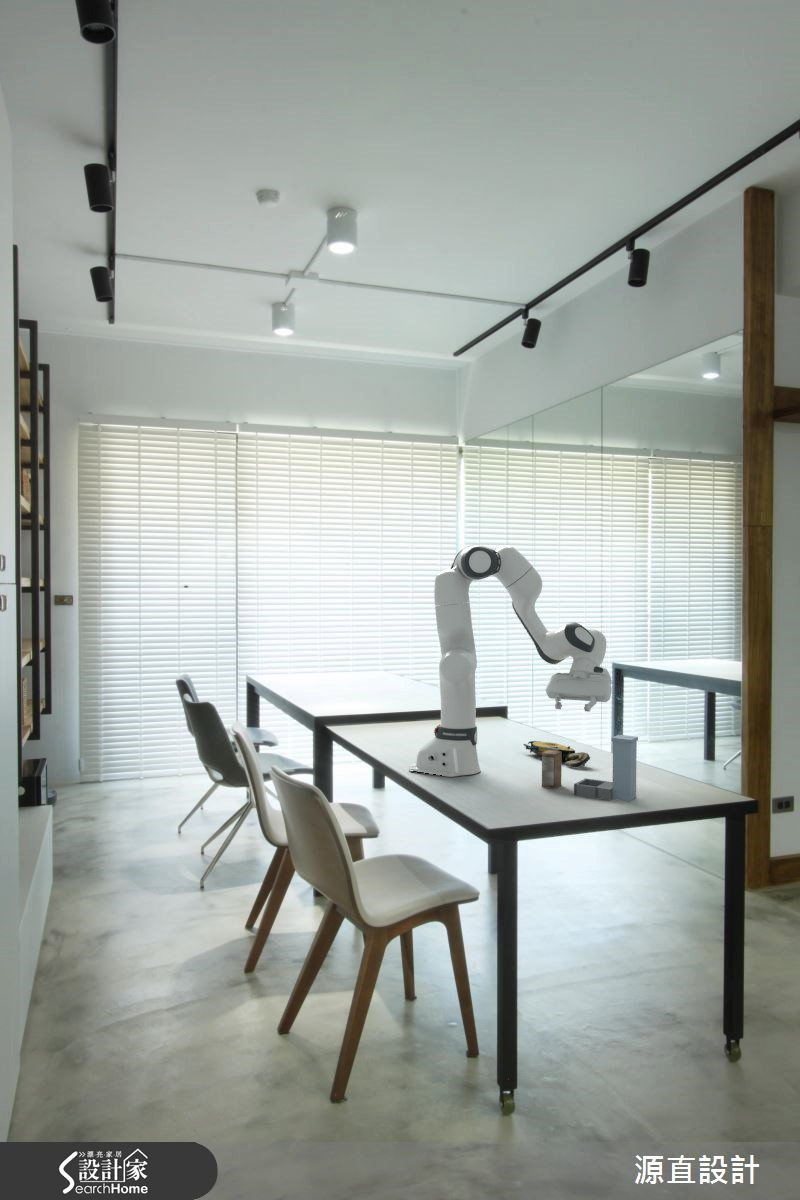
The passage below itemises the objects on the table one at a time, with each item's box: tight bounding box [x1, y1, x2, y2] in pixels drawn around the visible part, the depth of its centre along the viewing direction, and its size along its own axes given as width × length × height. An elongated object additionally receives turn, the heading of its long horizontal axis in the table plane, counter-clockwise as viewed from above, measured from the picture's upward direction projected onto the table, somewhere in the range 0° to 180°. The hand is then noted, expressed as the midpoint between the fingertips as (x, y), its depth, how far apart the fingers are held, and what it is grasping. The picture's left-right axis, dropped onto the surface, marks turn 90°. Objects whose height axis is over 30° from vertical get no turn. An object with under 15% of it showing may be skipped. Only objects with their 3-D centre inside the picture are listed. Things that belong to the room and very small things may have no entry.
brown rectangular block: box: [541, 750, 563, 790], centre depth 247 cm, size 4×6×10 cm
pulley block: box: [523, 740, 591, 768], centre depth 284 cm, size 14×6×30 cm
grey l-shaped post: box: [573, 734, 639, 802], centre depth 237 cm, size 16×9×17 cm, turn 56°
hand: (572, 709), depth 259 cm, fingers open, 8 cm apart
